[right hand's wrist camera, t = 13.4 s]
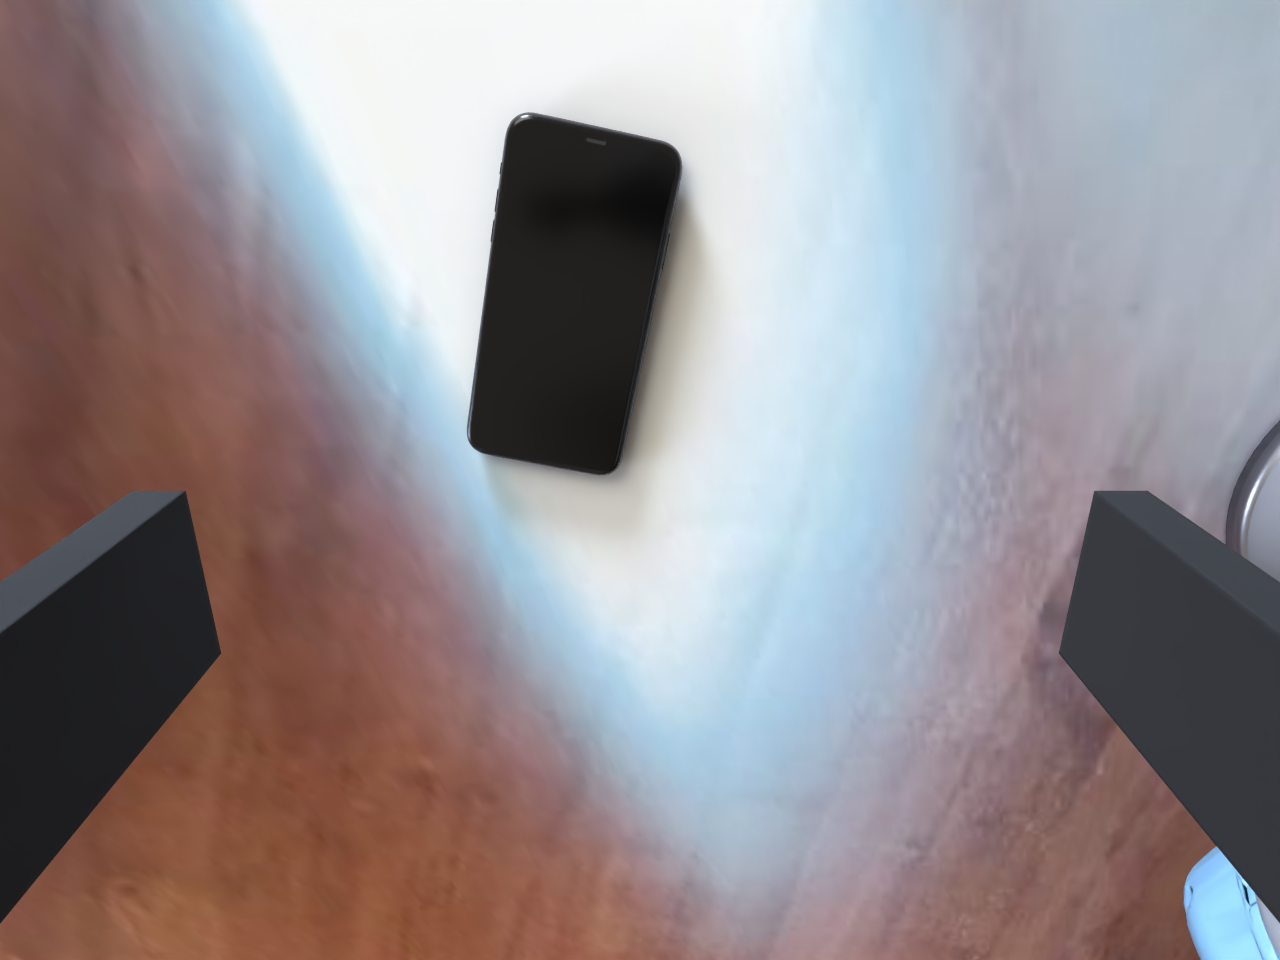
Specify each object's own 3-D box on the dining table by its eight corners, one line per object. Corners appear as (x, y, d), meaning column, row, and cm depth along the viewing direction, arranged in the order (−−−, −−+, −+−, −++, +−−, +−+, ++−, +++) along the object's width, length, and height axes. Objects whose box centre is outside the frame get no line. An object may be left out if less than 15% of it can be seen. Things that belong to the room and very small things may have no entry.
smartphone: (618, 474, 43) (687, 146, 37) (618, 481, 42) (688, 146, 36) (465, 446, 43) (510, 107, 37) (462, 452, 42) (507, 106, 36)
